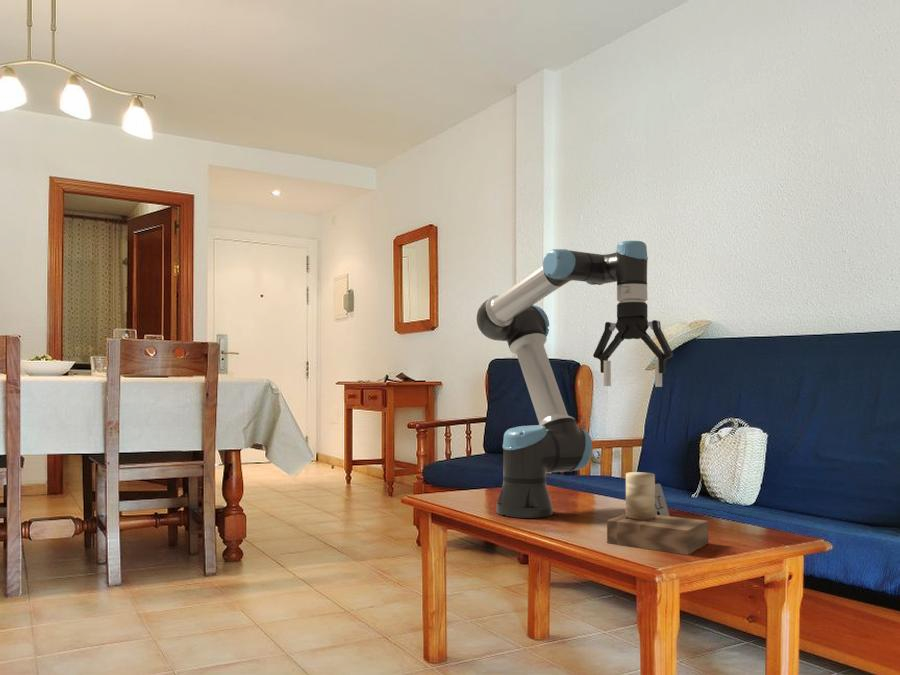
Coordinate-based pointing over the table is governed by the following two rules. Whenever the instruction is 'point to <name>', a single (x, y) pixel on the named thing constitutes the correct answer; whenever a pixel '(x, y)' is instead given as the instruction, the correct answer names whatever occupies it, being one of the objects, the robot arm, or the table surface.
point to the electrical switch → (660, 501)
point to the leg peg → (640, 496)
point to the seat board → (659, 533)
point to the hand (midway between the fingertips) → (632, 386)
